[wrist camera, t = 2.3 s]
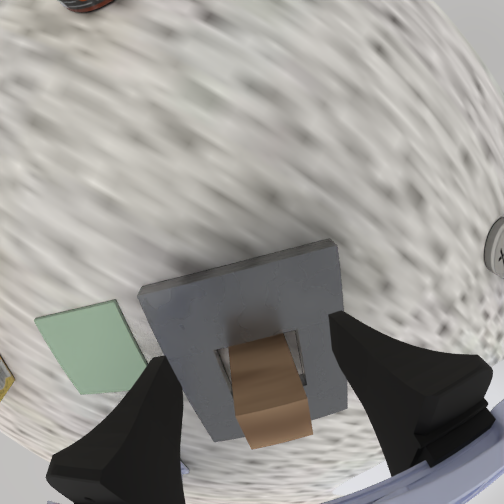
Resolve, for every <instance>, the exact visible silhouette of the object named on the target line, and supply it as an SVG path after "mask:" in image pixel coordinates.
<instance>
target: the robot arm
mask: <svg viewBox="0 0 504 504" xmlns="http://www.w3.org/2000/svg"><path fill="white" fill-rule="evenodd" d="M328 317H329V326H330V336H331V346H332V351H333V354H334V356H335V358H336V360H337V363H338V365H339V367H340V369H341V371H342V372H343V374H344V375H345V377H346V379H347V380H348V382H349V384H350V385H351V387H352V388H353V390H354V392H355V393H356V395H357V397H358V398H359V400H360V401H361V403H362V405H363V407H364V409H365V411H366V413H367V415H368V417H369V419H370V422H371V424H372V426H373V428H374V431H375V433H376V436H377V438H378V440H379V443H380V446H381V448H382V451H383V453H384V456H385V459H386V461H387V465H388V467H389V470H390V473H391V476H392V477H391V478H389V479H386V480H384V481H382V482H379V483H377V484H375V485H372V486H370V487H367V488H365V489H362V490H360V491H357V492H354V493H352V494H349V495H346V496H343V497H340V498H337V499H334V500H331V501H328V502H324V503H321V504H465V503H466V502H468V501H469V500H470V499H472V498H473V497H475V496H476V495H477V494H479V493H480V492H481V491H482V490H484V489H485V488H486V487H488V486H489V485H490V484H491V483H493V482H494V481H495V480H496V479H497V478H499V477H500V476H501V475H502V474H503V473H504V399H503V400H502V401H501V402H499V403H498V404H497V405H496V406H495V407H494V408H493V409H492V410H491V412H490V411H489V410H488V409H487V408H486V407H487V405H488V402H487V401H486V400H485V399H484V396H485V394H486V392H487V389H488V387H489V385H490V382H491V380H492V376H493V370H492V368H491V367H490V366H489V365H488V364H487V363H486V362H485V361H484V360H483V359H482V358H481V357H480V356H479V355H468V354H452V353H444V352H438V351H432V350H428V349H424V348H420V347H416V346H413V345H410V344H407V343H404V342H401V341H399V340H396V339H394V338H391V337H389V336H387V335H385V334H383V333H381V332H379V331H377V330H375V329H373V328H371V327H369V326H367V325H365V324H364V323H362V322H360V321H359V320H357V319H355V318H354V317H352V316H350V315H349V314H347V313H345V312H343V311H342V310H341V311H337V312H334V313H331V314H328ZM182 417H183V391H182V386H181V384H180V382H179V380H178V378H177V376H176V375H175V373H174V371H173V369H172V367H171V365H170V363H169V361H168V359H167V357H166V355H165V356H159V357H154V358H152V360H151V361H150V362H149V364H148V365H147V366H146V368H145V369H144V371H143V372H142V374H141V375H140V377H139V378H138V379H137V381H136V382H135V383H134V385H133V386H132V388H131V389H130V390H129V392H128V393H127V394H126V395H125V397H124V398H123V399H122V400H121V402H120V403H119V404H118V405H117V406H116V408H115V409H114V410H113V411H112V412H111V413H110V414H109V415H108V416H107V417H106V418H105V419H104V420H103V421H102V422H101V423H100V424H98V425H97V426H96V427H95V428H94V429H93V430H91V431H90V432H89V433H88V434H86V435H85V436H84V437H82V438H81V439H80V440H78V441H77V442H75V443H74V444H72V445H70V446H69V447H67V448H65V449H63V450H61V451H60V452H58V453H56V454H54V455H53V456H52V459H51V462H50V465H49V468H48V472H47V474H46V479H47V481H48V483H49V484H50V485H51V486H52V487H53V488H54V489H56V490H57V491H58V492H59V493H61V494H62V495H64V496H65V497H66V498H68V499H69V500H71V501H73V502H74V504H185V498H184V492H183V484H182V474H187V473H189V469H188V468H187V467H186V466H185V465H184V464H183V463H182V462H181V461H180V442H181V429H182ZM47 504H59V503H55V502H51V501H47Z"/></svg>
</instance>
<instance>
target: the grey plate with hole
mask: <svg viewBox="0 0 504 504" xmlns="http://www.w3.org/2000/svg"><path fill="white" fill-rule="evenodd" d="M137 297H138V299H139V302H140V304H141V306H142V309H143V311H144V313H145V315H146V318H147V320H148V322H149V324H150V326H151V328H152V331H153V333H154V335H155V337H156V339H157V341H158V343H159V345H160V347H161V349H162V351H163V353H164V355H166V357H167V359H168V361H169V363H170V365H171V367H172V369H173V371H174V373H175V375H176V376H177V378H178V380H179V382H180V384H181V386H182V389H183V391H184V393H185V395H186V396H187V398H188V400H189V402H190V403H191V405H192V407H193V409H194V410H195V412H196V414H197V415H198V417H199V419H200V420H201V422H202V424H203V425H204V427H205V428H206V430H207V432H208V433H209V435H210V436H211V438H212V439H213V441H214V442H219V441H225V440H231V439H236V438H242V437H245V435H244V433H243V431H242V429H241V427H240V425H239V423H238V421H237V419H236V417H235V409H234V399H233V390H232V386H231V384H230V381H229V379H228V376H227V374H226V372H225V369H224V367H223V364H222V361H221V359H220V356H219V354H218V351H217V349H221V348H225V347H230V346H234V345H238V344H242V343H246V342H250V341H254V340H258V339H262V338H266V337H270V336H274V335H277V334H281V333H285V332H288V331H292V330H295V333H296V338H297V344H298V349H299V355H300V360H301V366H302V372H303V374H302V375H299V377H300V380H301V382H302V385H303V388H304V391H305V393H306V396H307V399H308V405H309V411H310V418H311V420H314V419H318V418H321V417H324V416H327V415H330V414H333V413H336V412H339V411H342V410H345V409H347V379H346V377H345V375H344V374H343V372H342V371H341V369H340V367H339V365H338V363H337V360H336V358H335V356H334V354H333V351H332V346H331V336H330V326H329V317H328V314H331V313H334V312H337V311H341V310H342V311H343V312H344V307H343V295H342V284H341V273H340V264H339V255H338V247H337V244H335V243H334V242H333V241H332V240H331V239H326V240H322V241H318V242H315V243H311V244H307V245H303V246H299V247H295V248H291V249H288V250H284V251H280V252H276V253H272V254H268V255H264V256H261V257H257V258H253V259H249V260H245V261H241V262H237V263H233V264H229V265H225V266H222V267H218V268H214V269H210V270H206V271H202V272H198V273H194V274H190V275H186V276H182V277H178V278H174V279H170V280H166V281H162V282H158V283H154V284H150V285H146V286H142V287H141V289H140V291H139V294H138V296H137Z"/></svg>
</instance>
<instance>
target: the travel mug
mask: <svg viewBox="0 0 504 504" xmlns="http://www.w3.org/2000/svg"><path fill="white" fill-rule="evenodd" d="M485 263H486V266H487V268H488V269H489V270H490V271H492V272H493V273H495V274H497V275H499V276H500V277H502V278H503V279H504V218H501V219H499V220H498V221H497V222H496V223H495V224H494V226H493V227H492V229H491V231H490V233H489V235H488V238H487V241H486V246H485Z"/></svg>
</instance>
